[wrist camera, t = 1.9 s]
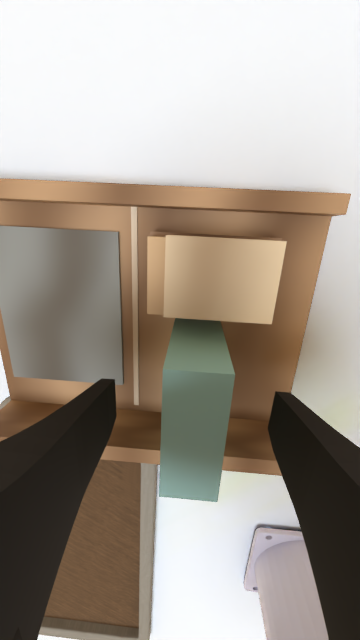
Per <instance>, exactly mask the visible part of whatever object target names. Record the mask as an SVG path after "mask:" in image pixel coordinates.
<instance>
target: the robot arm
mask: <svg viewBox="0 0 360 640" xmlns="http://www.w3.org/2000/svg"><path fill="white" fill-rule="evenodd" d="M116 417H117V413H116V391H115V379H104V378H102V379H100V380H99V381H97V382H96V383H94V384H93V385H92V386H90V387H89V388H88V389H86V390H85V391H84V392H82V393H81V394H79V395H78V396H77V397H75V398H74V399H72V400H71V401H70V402H68V403H67V404H65V405H64V406H62V407H61V408H59V409H58V410H56V411H55V412H53V413H52V414H50V415H48V416H47V417H45V418H44V419H42V420H40V421H39V422H37V423H35V424H33V425H32V426H30V427H28V428H26V429H24V430H22V431H21V432H19V433H17V434H15V435H13V436H11V437H9V438H7V439H4V440H2V441H0V640H37V638H38V635H39V631H40V628H41V624H42V621H43V618H44V614H45V611H46V608H47V604H48V601H49V598H50V595H51V591H52V588H53V585H54V582H55V579H56V576H57V573H58V569H59V566H60V563H61V560H62V557H63V554H64V551H65V548H66V545H67V542H68V539H69V536H70V533H71V530H72V527H73V524H74V521H75V519H76V516H77V513H78V510H79V507H80V504H81V502H82V499H83V496H84V494H85V492H86V489H87V487H88V485H89V482H90V480H91V478H92V476H93V474H94V472H95V469H96V467H97V465H98V463H99V461H100V458H101V456H102V454H103V452H104V450H105V447H106V445H107V443H108V441H109V438H110V436H111V433H112V430H113V426H114V423H115V420H116ZM268 432H269V436H270V441H271V445H272V449H273V452H274V455H275V458H276V460H277V463H278V466H279V469H280V471H281V474H282V476H283V479H284V482H285V484H286V487H287V490H288V492H289V495H290V498H291V500H292V503H293V505H294V508H295V511H296V514H297V517H298V520H299V524H300V527H301V531H302V532H301V531H291V530H281V529H271V528H258V529H256V531H255V534H254V539H253V543H252V548H251V552H250V557H249V561H248V565H247V570H246V574H245V579H244V588H245V589H246V590H247V591H253V592H258V593H259V599H260V604H261V610H262V616H263V622H264V627H265V633H266V639H267V640H360V448H359V447H358V446H356V445H355V444H354V443H352V442H351V441H349V440H348V439H347V438H345V437H344V436H343V435H341V434H340V433H339V432H338V431H336V430H335V429H334V428H332V427H331V426H330V425H329V424H327V423H326V422H325V421H324V420H322V419H321V418H320V417H319V416H318V415H316V414H315V413H314V412H313V411H312V410H310V409H309V408H308V407H307V406H306V405H304V404H303V403H302V402H301V401H300V400H298V399H297V398H296V397H295V396H294V395H292V394H291V393H290V392H277V391H275V395H274V400H273V405H272V410H271V415H270V419H269V424H268Z"/></svg>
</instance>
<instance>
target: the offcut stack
mask: <svg viewBox="0 0 360 640" xmlns="http://www.w3.org/2000/svg"><path fill="white" fill-rule="evenodd" d="M286 243H287V241H282V238H270V237H250V236H231V235H211V234H192V233H172V232H153V231H150V236H147V314H157V315H164V316H163V317H167V318H183V319H198V320H213V321H228V322H244V323H259V324H272V320H273V315H274V309H275V304H276V298H277V293H278V287H279V282H280V276H281V271H282V265H283V260H284V254H285V249H286Z"/></svg>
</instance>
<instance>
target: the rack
mask: <svg viewBox="0 0 360 640" xmlns="http://www.w3.org/2000/svg"><path fill="white" fill-rule="evenodd" d="M350 196H351V194H345V193H322V192H299V191H276V190H253V189H230V188H207V187H184V186H161V185H138V184H115V183H92V182H69V181H46V180H23V179H0V350H1V355H2V360H3V365H4V369H5V374H6V379H7V383H8V388H9V393H10V398H11V401H10V402H8V403H7V404H6V405H5V406H4V407H3V408H2V409H1V410H0V441H2V440H4V439H7V438H9V437H11V436H13V435H15V434H17V433H19V432H21V431H22V430H24V429H26V428H28V427H30V426H32V425H33V424H35V423H37V422H39V421H40V420H42V419H44V418H45V417H47V416H48V415H50V414H52V413H53V412H55V411H56V410H58V409H59V408H61V407H62V406H64V405H65V404H67V403H68V402H70V401H71V400H72V399H74V398H75V397H77V396H78V395H79V394H81V393H82V392H84V391H85V390H86V389H88V388H89V387H90V386H92V385H93V384H94V383H96V382H97V381H99V380H100V379H102V378H104V379H115V391H116V413H117V417H116V420H115V423H114V426H113V430H112V433H111V436H110V438H109V441H108V443H107V445H106V447H105V450H104V452H103V454H102V456H101V458H100V459H103V460H114V461H125V462H136V463H147V464H158V465H160V447H161V413H162V378H163V366H164V362H165V358H166V354H167V350H168V346H169V342H170V337H171V333H172V329H173V325H174V321H175V318H167V317H163V316H164V315H157V314H147V236H150V231H153V232H172V233H192V234H211V235H231V236H250V237H270V238H282V241H287V243H286V249H285V254H284V260H283V265H282V271H281V276H280V282H279V287H278V293H277V298H276V304H275V309H274V315H273V320H272V324H259V323H244V322H228V321H220V322H221V325H222V329H223V332H224V336H225V340H226V343H227V347H228V350H229V354H230V358H231V361H232V365H233V368H234V372H235V380H234V387H233V394H232V401H231V408H230V415H229V422H228V430H227V437H226V444H225V451H224V458H223V465H222V470H225V471H236V472H247V473H258V474H269V475H280V476H282V474H281V471H280V469H279V466H278V463H277V460H276V458H275V455H274V452H273V449H272V445H271V441H270V436H269V432H268V424H269V419H270V415H271V410H272V405H273V400H274V395H275V391H277V392H290V393H291V389H292V385H293V380H294V376H295V372H296V368H297V363H298V359H299V355H300V350H301V346H302V342H303V337H304V333H305V329H306V324H307V320H308V316H309V311H310V307H311V303H312V298H313V294H314V290H315V286H316V281H317V277H318V273H319V268H320V264H321V260H322V255H323V251H324V247H325V242H326V238H327V234H328V229H329V225H330V221H331V216H337V215H345V214H346V212H347V208H348V204H349V200H350Z"/></svg>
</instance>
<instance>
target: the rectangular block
mask: <svg viewBox="0 0 360 640" xmlns="http://www.w3.org/2000/svg"><path fill="white" fill-rule="evenodd" d="M234 380H235V372H234V368H233V365H232V361H231V358H230V354H229V350H228V347H227V343H226V340H225V336H224V332H223V329H222V325H221V322H220V321H213V320H198V319H183V318H175V321H174V325H173V329H172V333H171V337H170V342H169V346H168V350H167V354H166V358H165V362H164V366H163V378H162V413H161V447H160V482H159V496H160V497H170V498H181V499H191V500H202V501H212V502H217V501H218V494H219V487H220V479H221V472H222V465H223V458H224V451H225V444H226V437H227V430H228V422H229V415H230V408H231V401H232V394H233V387H234Z"/></svg>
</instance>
